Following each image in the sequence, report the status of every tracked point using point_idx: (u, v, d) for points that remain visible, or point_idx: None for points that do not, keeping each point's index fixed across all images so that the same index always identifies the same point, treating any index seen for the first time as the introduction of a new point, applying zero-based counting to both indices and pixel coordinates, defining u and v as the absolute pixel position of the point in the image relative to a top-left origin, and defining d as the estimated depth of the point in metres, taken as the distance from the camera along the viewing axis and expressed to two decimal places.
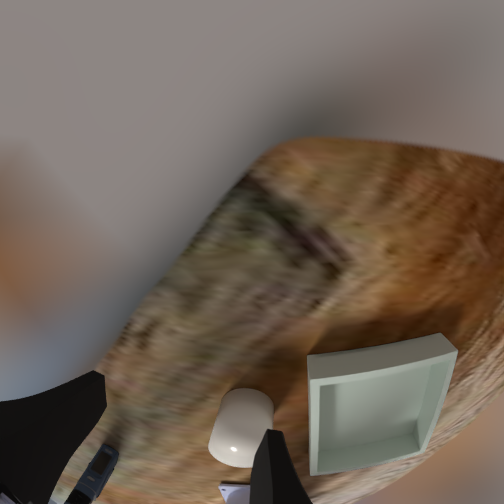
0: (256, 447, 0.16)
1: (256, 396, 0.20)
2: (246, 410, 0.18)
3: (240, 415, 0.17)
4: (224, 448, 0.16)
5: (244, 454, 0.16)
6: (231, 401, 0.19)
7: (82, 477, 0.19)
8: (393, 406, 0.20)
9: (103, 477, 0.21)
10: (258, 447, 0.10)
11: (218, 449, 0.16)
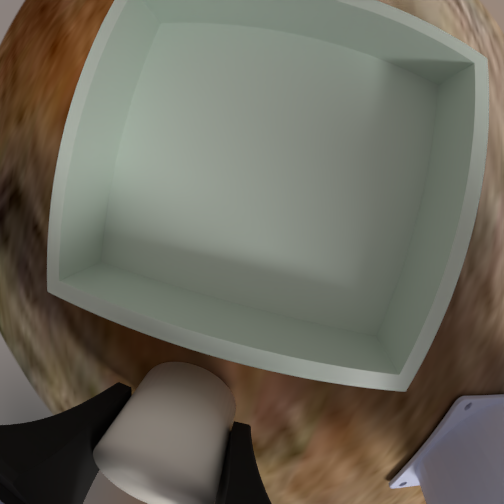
0: (135, 461, 0.06)
1: (142, 380, 0.11)
2: None
3: None
4: (143, 491, 0.07)
5: (161, 484, 0.07)
6: None
7: None
8: (299, 109, 0.08)
9: None
10: None
11: (147, 497, 0.07)
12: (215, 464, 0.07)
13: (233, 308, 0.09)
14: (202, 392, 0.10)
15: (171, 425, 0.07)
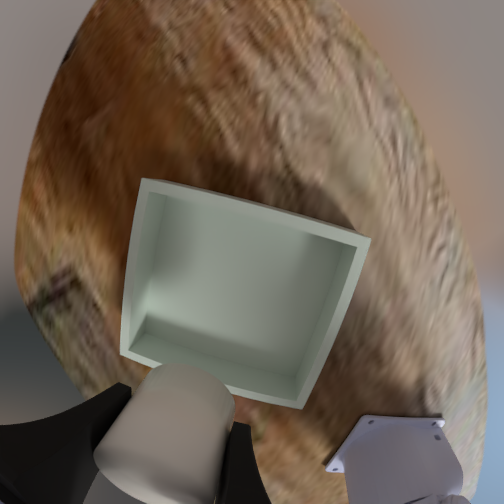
0: (135, 463, 0.06)
1: (142, 381, 0.11)
2: None
3: None
4: (143, 492, 0.07)
5: (161, 485, 0.07)
6: None
7: None
8: (251, 265, 0.17)
9: None
10: None
11: (146, 497, 0.07)
12: (214, 466, 0.07)
13: (217, 361, 0.18)
14: (202, 394, 0.10)
15: (171, 427, 0.08)
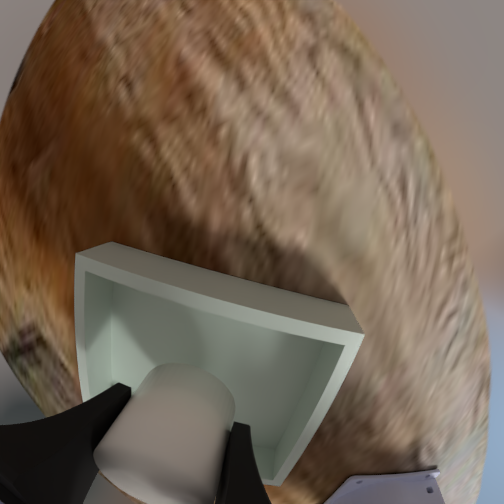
0: (135, 463, 0.06)
1: (143, 381, 0.11)
2: None
3: None
4: (143, 492, 0.07)
5: (161, 485, 0.07)
6: None
7: None
8: (218, 346, 0.13)
9: None
10: None
11: (146, 497, 0.07)
12: (215, 465, 0.07)
13: None
14: (202, 394, 0.10)
15: (171, 427, 0.07)
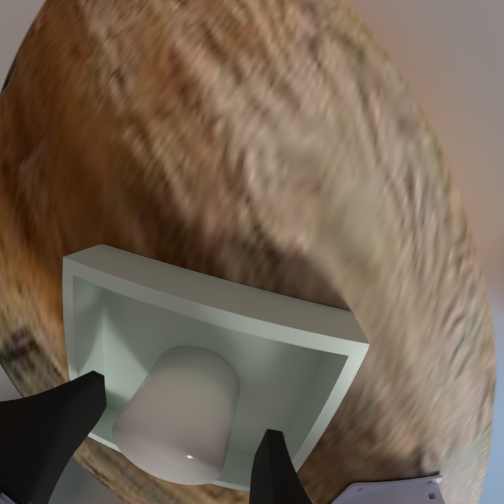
0: (152, 432, 0.08)
1: (156, 362, 0.12)
2: None
3: None
4: (156, 465, 0.08)
5: (174, 454, 0.08)
6: None
7: None
8: None
9: None
10: (258, 447, 0.10)
11: (159, 470, 0.09)
12: (223, 435, 0.09)
13: None
14: (211, 371, 0.11)
15: (186, 398, 0.09)
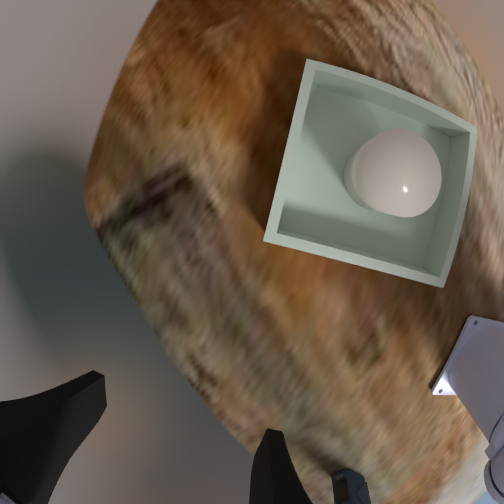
0: (401, 145, 0.12)
1: (355, 150, 0.16)
2: (356, 153, 0.14)
3: (357, 157, 0.14)
4: (395, 190, 0.12)
5: (412, 169, 0.12)
6: (348, 176, 0.16)
7: None
8: None
9: (352, 499, 0.18)
10: (258, 447, 0.10)
11: (395, 199, 0.12)
12: None
13: (359, 249, 0.17)
14: None
15: None
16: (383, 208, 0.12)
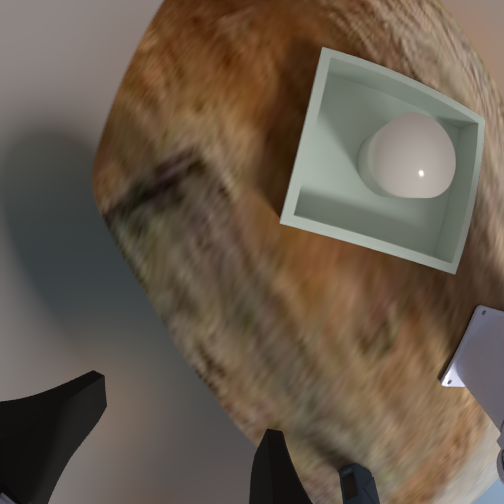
0: (419, 128, 0.11)
1: (370, 135, 0.16)
2: (373, 136, 0.14)
3: (374, 139, 0.13)
4: (413, 170, 0.12)
5: (429, 152, 0.12)
6: (363, 160, 0.15)
7: None
8: None
9: (361, 494, 0.18)
10: (258, 447, 0.10)
11: (413, 179, 0.12)
12: None
13: (372, 235, 0.17)
14: None
15: None
16: (402, 187, 0.12)
